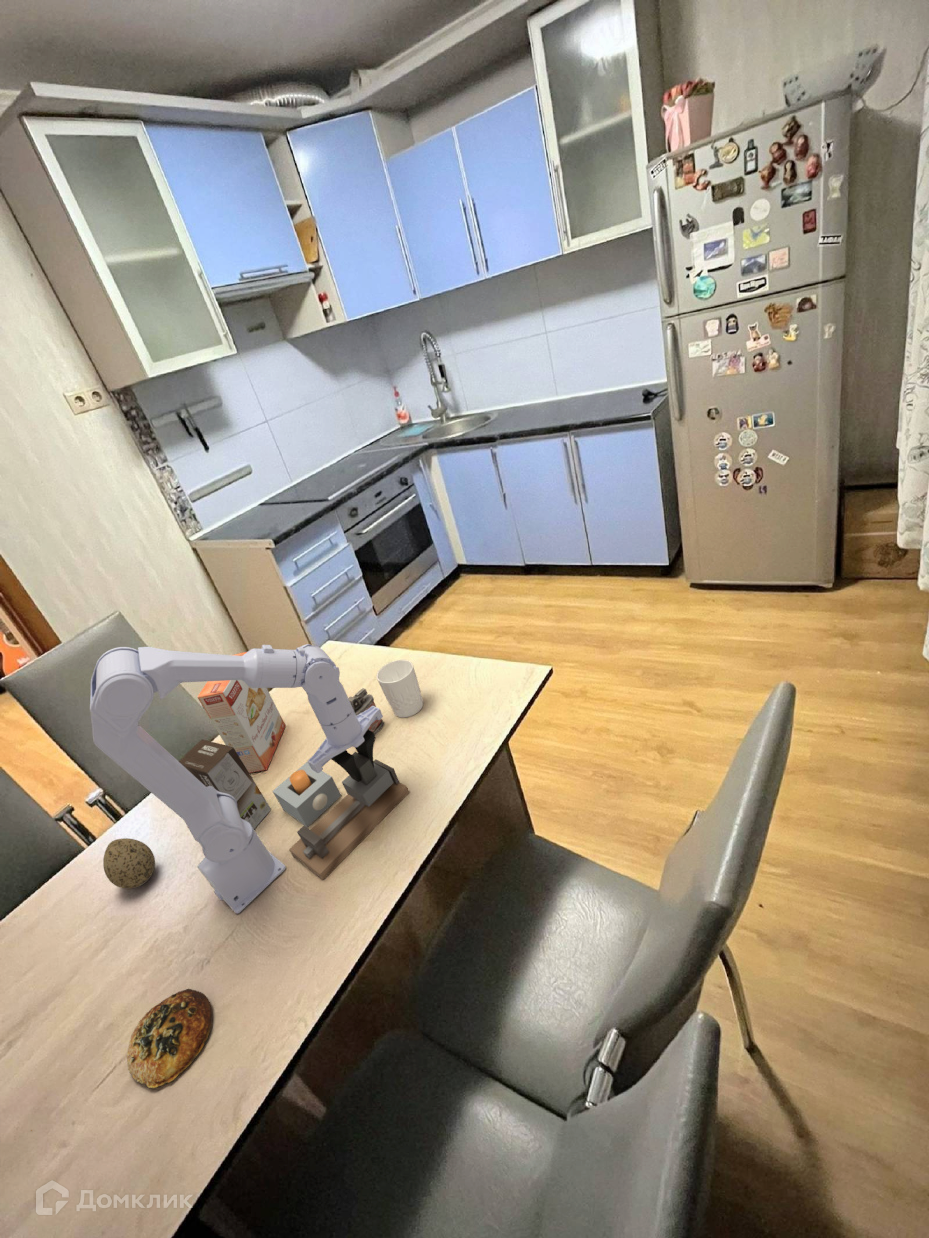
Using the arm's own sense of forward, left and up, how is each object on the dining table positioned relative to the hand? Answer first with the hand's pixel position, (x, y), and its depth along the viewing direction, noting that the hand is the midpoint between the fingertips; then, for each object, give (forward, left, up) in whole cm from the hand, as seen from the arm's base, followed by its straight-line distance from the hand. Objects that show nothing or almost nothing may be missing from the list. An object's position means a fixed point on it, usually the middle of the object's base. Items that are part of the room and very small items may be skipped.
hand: (363, 772), depth 99 cm
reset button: (-7, +11, -4) cm, 14 cm away
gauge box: (-7, +11, -7) cm, 15 cm away
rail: (-6, 0, -7) cm, 9 cm away
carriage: (0, 0, -4) cm, 4 cm away
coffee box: (-16, +21, -7) cm, 27 cm away
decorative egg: (-34, +26, -7) cm, 43 cm away
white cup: (+21, +13, -7) cm, 26 cm away
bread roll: (-42, -5, -7) cm, 43 cm away
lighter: (+11, +15, -7) cm, 20 cm away
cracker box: (-3, +34, -7) cm, 35 cm away
